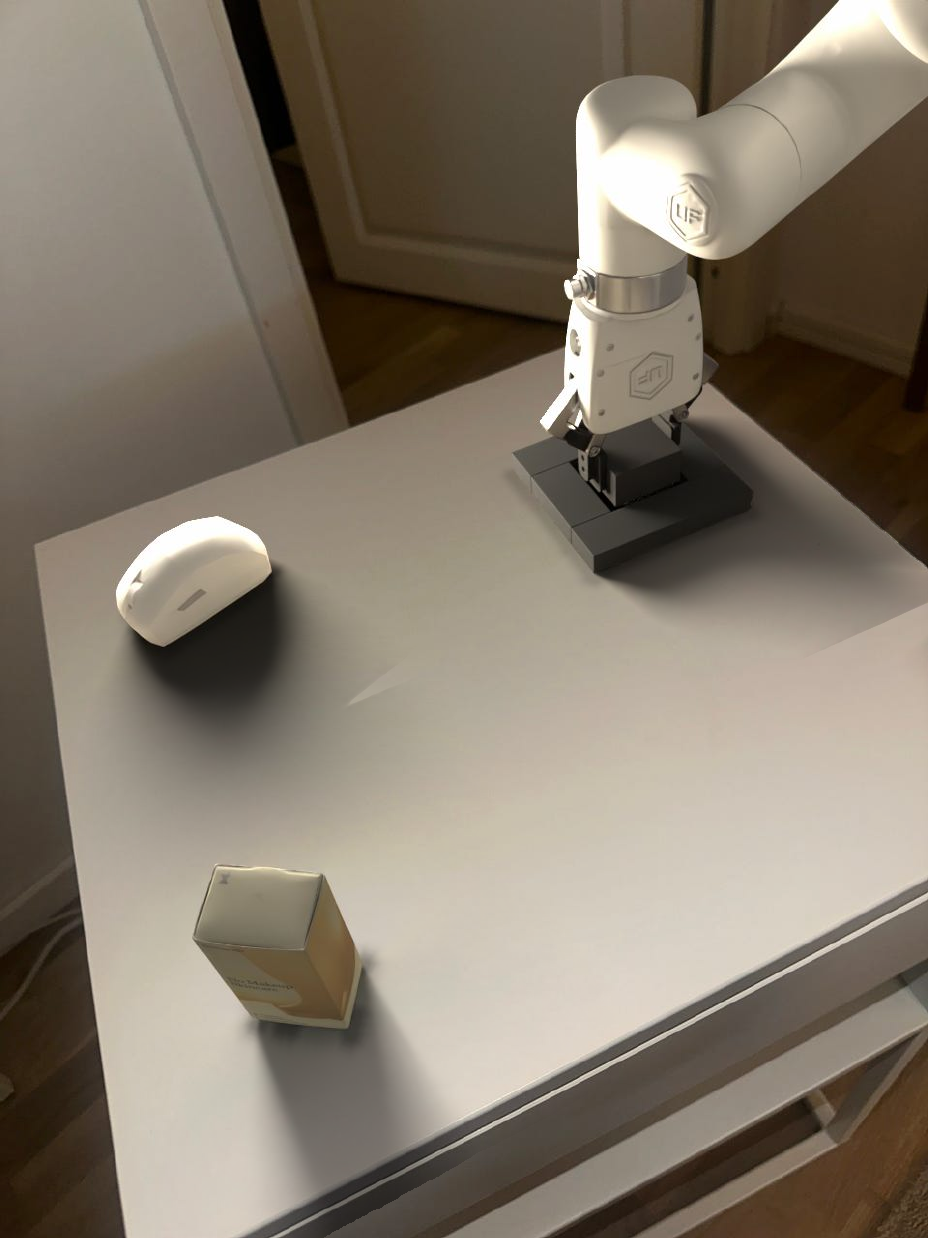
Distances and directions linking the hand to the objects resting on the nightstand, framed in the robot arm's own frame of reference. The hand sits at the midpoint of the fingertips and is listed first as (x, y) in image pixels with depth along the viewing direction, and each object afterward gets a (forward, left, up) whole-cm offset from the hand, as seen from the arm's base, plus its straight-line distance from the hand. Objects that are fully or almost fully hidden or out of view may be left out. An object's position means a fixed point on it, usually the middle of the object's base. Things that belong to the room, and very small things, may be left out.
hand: (629, 465), depth 82 cm
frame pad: (0, 0, -3) cm, 3 cm away
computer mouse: (+37, -7, -3) cm, 38 cm away
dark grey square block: (0, 0, -1) cm, 1 cm away
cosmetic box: (+39, +29, -3) cm, 49 cm away
